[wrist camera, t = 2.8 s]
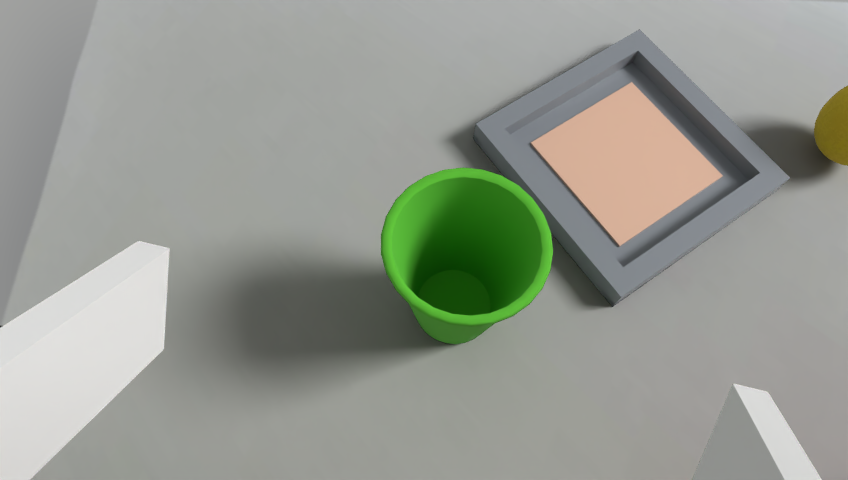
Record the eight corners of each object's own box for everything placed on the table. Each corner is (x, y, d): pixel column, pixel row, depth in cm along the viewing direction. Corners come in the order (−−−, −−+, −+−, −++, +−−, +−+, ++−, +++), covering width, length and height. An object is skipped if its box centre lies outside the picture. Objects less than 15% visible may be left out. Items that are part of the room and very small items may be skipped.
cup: (540, 279, 46) (578, 207, 36) (486, 398, 42) (512, 355, 32) (422, 225, 47) (428, 141, 37) (361, 336, 44) (349, 277, 34)
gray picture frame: (631, 46, 54) (639, 29, 52) (776, 191, 49) (790, 177, 47) (473, 138, 50) (475, 123, 48) (612, 306, 45) (621, 297, 43)
